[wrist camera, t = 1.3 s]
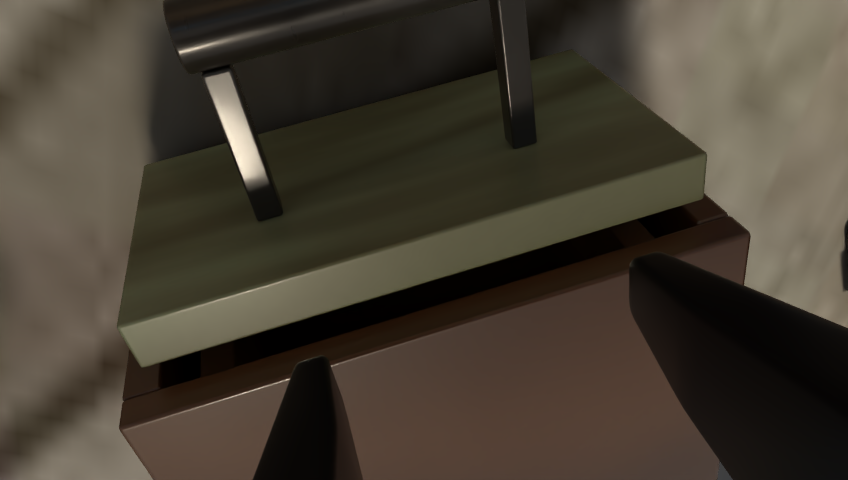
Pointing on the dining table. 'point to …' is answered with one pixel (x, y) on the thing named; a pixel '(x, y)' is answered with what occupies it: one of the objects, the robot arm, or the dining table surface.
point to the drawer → (381, 188)
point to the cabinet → (466, 382)
